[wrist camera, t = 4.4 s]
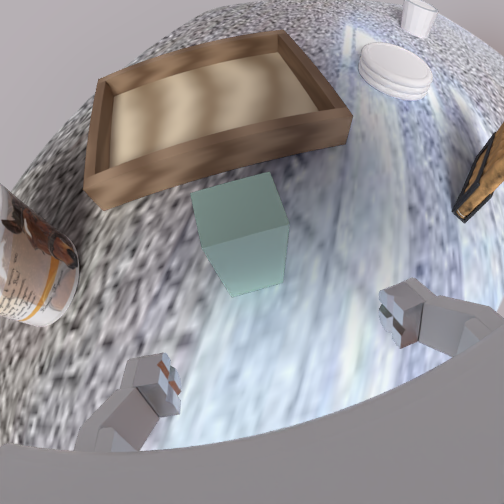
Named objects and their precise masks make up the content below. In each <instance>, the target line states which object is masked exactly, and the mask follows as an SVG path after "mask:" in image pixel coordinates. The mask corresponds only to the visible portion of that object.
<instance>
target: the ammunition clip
mask: <svg viewBox="0 0 504 504" xmlns="http://www.w3.org/2000/svg"><path fill="white" fill-rule="evenodd" d="M503 181H504V122H503V124H502V125H501V127H500V128H499V129H498V131H497V132H494V134H493V135H492V136H491V138H490V139H489V140H488V142H487V143H486V145H485V146H484V147H483V149H482V150H481V151H480V152H479V154H478V155H477V156H476V158H475V161H474V163H473V166H472V168H471V171H470V173H469V175H468V178H467V180H466V182H465V184H464V187H463V189H462V191H461V193H460V195H459V197H458V199H457V202H456V204H455V206H454V208H453V210H452V213H454V214H455V215H456V216H457V217H458V218H459V219H460V220H461V221H462V222H463V223H466V222H467V221H468V220H469V219H470V218H471V217H472V216H473V215H474V214H475V213H476V212H477V211H478V210H479V209H480V208H481V207H482V206H483V205H484V204H485V203H486V202H487V201H488V200H489V199H490V198H491V197H492V195H493V192H494V190H495V189H496V188H497V187H498V186H499V185H500V184H501V183H502V182H503Z"/></svg>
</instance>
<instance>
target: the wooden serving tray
mask: <svg viewBox="0 0 504 504" xmlns="http://www.w3.org/2000/svg"><path fill="white" fill-rule="evenodd" d="M352 118H353V115H352V114H351V112H350V111H349V109H348V108H347V106H346V105H345V104H344V102H343V101H342V100H341V98H340V97H339V95H338V94H337V93H336V91H335V90H334V89H333V87H332V86H331V85H330V84H329V82H328V81H327V80H326V78H325V77H324V76H323V75H322V73H321V72H320V71H319V70H318V68H317V67H316V66H315V65H314V64H313V62H312V61H311V60H310V59H309V58H308V56H307V55H306V54H305V53H304V52H303V51H302V49H301V48H300V47H299V46H298V45H297V44H296V43H295V42H294V40H293V39H292V38H291V37H290V36H289V35H288V34H287V33H286V32H285V31H284V30H275V31H267V32H260V33H253V34H247V35H241V36H236V37H230V38H225V39H221V40H216V41H212V42H207V43H203V44H199V45H195V46H191V47H188V48H184V49H180V50H177V51H174V52H170V53H167V54H164V55H161V56H158V57H155V58H152V59H149V60H146V61H143V62H140V63H137V64H135V65H132V66H129V67H127V68H124V69H122V70H119V71H117V72H115V73H112V74H110V75H108V76H106V77H103V78H101V79H98V83H97V88H96V93H95V98H94V103H93V108H92V114H91V120H90V127H89V134H88V142H87V150H86V159H85V170H84V183H83V190H84V191H85V192H86V193H87V194H88V196H89V197H90V198H91V199H92V200H93V201H94V202H95V203H96V204H97V205H98V206H99V207H100V208H101V209H102V210H103V211H105V210H108V209H110V208H113V207H116V206H119V205H121V204H124V203H127V202H130V201H133V200H135V199H138V198H141V197H144V196H147V195H150V194H153V193H156V192H159V191H162V190H165V189H168V188H172V187H175V186H178V185H181V184H184V183H188V182H191V181H194V180H198V179H201V178H204V177H208V176H211V175H215V174H219V173H222V172H226V171H229V170H233V169H237V168H241V167H244V166H248V165H252V164H256V163H260V162H264V161H268V160H273V159H277V158H281V157H286V156H290V155H294V154H299V153H304V152H308V151H313V150H318V149H323V148H328V147H333V146H339V145H344V144H346V140H347V137H348V133H349V129H350V125H351V122H352Z"/></svg>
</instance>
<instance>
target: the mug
mask: <svg viewBox="0 0 504 504" xmlns="http://www.w3.org/2000/svg"><path fill="white" fill-rule="evenodd" d="M78 279H79V259H78V254H77V251H76V248H75V246H74V244H73V243H72V241H71V240H70V239H69V238H68V237H67V236H66V235H64V234H63V233H62V232H60V231H59V230H58V229H56V228H55V227H54V226H52V225H51V224H50V223H48V222H47V221H46V220H45V219H43V218H42V217H41V216H39V215H38V214H37V213H36V212H34V211H33V210H32V209H31V208H29V207H28V206H27V205H26V204H24V203H23V202H22V201H21V200H20V199H18V198H17V197H16V196H15V195H14V194H12V193H11V192H10V191H9V190H8V189H6V188H5V187H4V186H3V185H2V184H1V183H0V316H2V317H5V318H8V319H12V320H15V321H18V322H22V323H25V324H29V325H33V326H38V327H43V326H47V325H50V324H52V323H54V322H55V321H57V320H58V319H59V318H60V317H61V316H62V315H63V314H64V313H65V312H66V310H67V309H68V307H69V306H70V304H71V302H72V300H73V297H74V295H75V292H76V289H77V285H78Z"/></svg>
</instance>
